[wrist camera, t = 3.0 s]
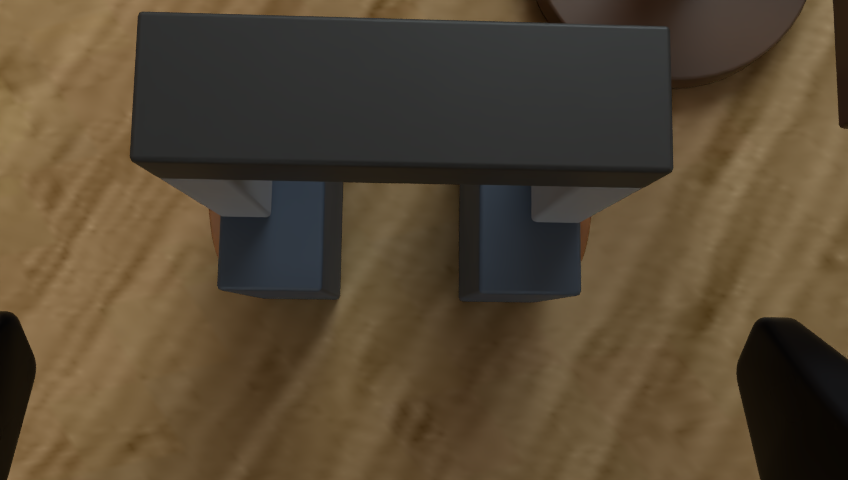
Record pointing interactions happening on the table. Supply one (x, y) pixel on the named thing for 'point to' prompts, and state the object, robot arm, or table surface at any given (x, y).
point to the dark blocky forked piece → (400, 136)
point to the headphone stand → (710, 33)
